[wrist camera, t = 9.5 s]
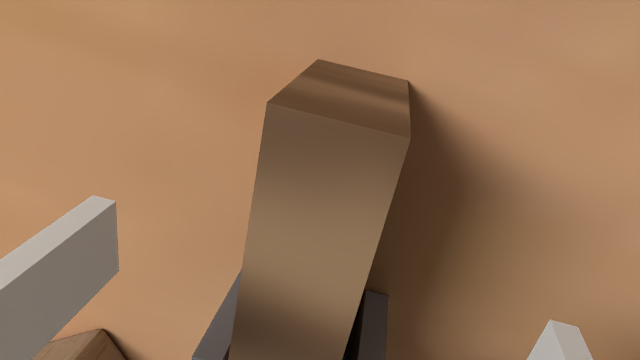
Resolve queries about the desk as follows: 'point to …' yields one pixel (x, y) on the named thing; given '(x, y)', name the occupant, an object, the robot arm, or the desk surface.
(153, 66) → the desk surface
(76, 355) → the wooden block
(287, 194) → the rail
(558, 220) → the desk surface
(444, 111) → the desk surface
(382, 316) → the gray block with ears
